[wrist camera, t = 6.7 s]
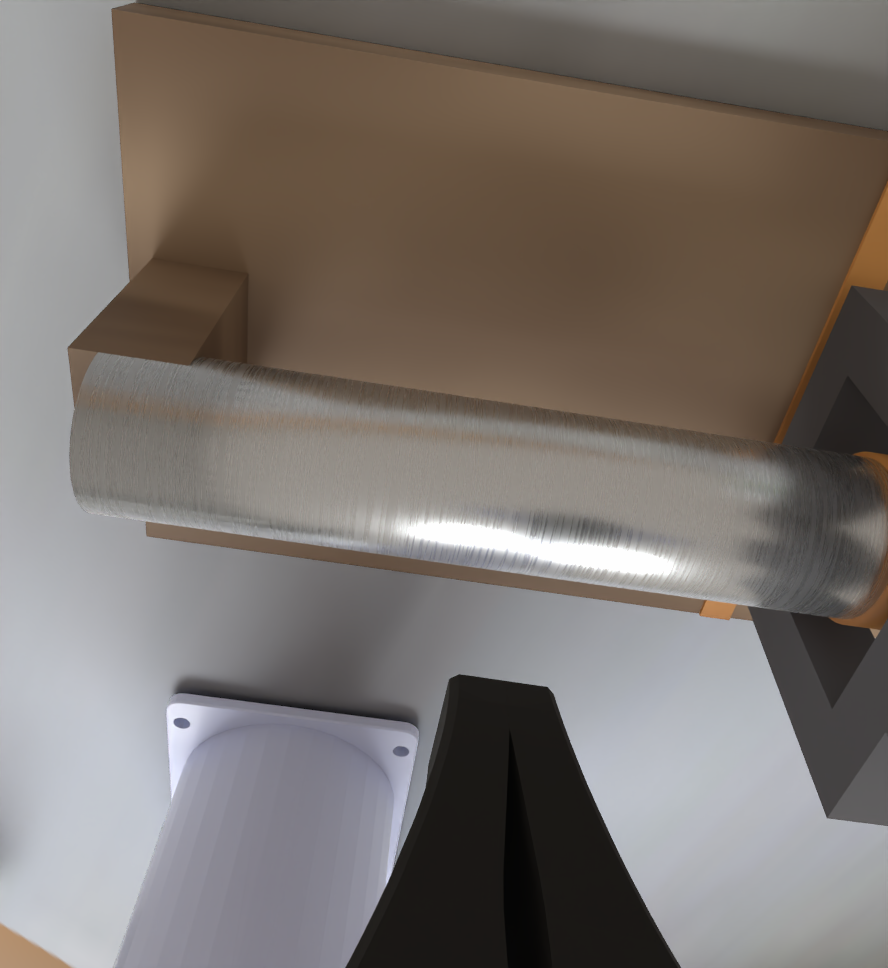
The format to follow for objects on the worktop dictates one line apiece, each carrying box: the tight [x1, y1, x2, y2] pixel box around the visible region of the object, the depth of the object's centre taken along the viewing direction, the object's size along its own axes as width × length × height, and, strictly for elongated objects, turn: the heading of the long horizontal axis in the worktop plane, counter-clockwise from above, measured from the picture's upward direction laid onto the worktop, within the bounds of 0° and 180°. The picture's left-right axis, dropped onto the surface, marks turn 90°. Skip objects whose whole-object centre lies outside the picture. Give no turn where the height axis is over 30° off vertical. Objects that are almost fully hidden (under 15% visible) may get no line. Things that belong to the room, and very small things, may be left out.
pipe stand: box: [68, 3, 888, 638], centre depth 17 cm, size 12×22×7 cm, turn 82°
